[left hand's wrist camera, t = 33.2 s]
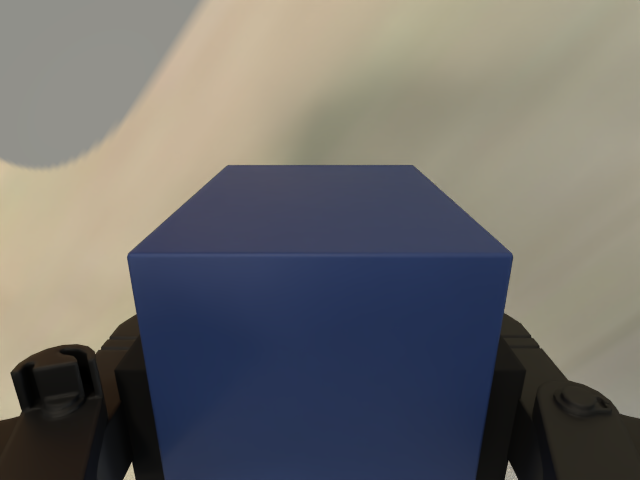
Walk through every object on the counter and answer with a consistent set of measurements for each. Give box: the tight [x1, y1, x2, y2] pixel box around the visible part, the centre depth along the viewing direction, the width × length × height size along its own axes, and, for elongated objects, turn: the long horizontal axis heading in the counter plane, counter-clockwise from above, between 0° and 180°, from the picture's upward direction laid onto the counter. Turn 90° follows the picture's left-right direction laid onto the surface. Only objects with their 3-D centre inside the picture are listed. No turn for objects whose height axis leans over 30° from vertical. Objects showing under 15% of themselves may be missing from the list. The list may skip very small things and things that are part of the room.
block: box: [127, 165, 513, 480], centre depth 11 cm, size 6×7×8 cm
